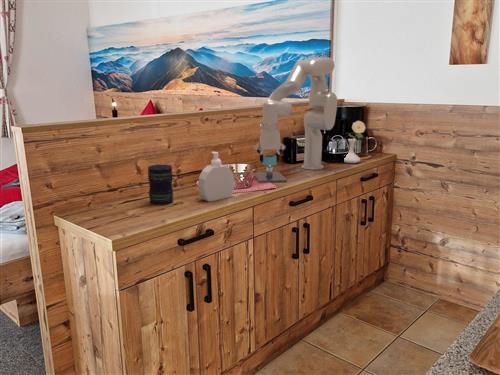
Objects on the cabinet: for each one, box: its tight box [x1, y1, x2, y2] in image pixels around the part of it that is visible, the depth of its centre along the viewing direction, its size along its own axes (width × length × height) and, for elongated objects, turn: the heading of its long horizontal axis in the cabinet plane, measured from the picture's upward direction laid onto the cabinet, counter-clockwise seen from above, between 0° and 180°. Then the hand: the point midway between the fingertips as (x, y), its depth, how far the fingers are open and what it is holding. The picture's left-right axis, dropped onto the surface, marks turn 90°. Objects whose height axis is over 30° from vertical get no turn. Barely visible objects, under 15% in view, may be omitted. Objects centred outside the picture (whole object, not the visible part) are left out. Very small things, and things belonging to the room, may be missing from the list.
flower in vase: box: [344, 120, 367, 164], centre depth 275 cm, size 13×11×25 cm
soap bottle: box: [197, 151, 235, 202], centre depth 197 cm, size 16×5×20 cm, turn 130°
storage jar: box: [147, 164, 174, 206], centre depth 191 cm, size 10×10×15 cm
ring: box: [261, 154, 278, 166], centre depth 235 cm, size 7×7×4 cm
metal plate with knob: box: [254, 165, 288, 184], centre depth 236 cm, size 20×14×7 cm
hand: (269, 161), depth 235 cm, fingers closed on ring, 7 cm apart
